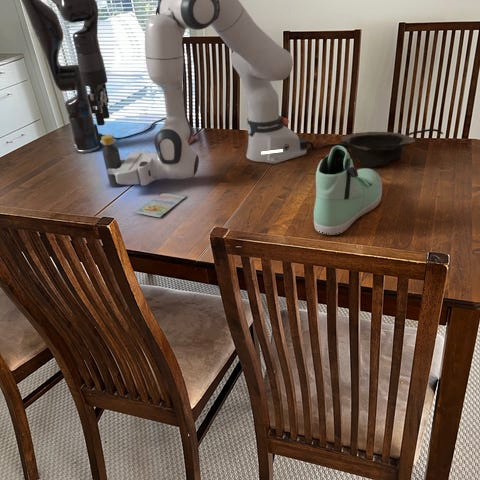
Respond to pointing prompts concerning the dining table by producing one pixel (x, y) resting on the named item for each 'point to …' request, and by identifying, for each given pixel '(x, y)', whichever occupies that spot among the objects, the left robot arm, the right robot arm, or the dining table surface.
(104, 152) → the bottle
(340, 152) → the sneaker
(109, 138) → the cap
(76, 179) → the dining table surface
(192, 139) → the candy cane
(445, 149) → the dining table surface
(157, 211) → the baking ingredient package
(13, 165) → the dining table surface
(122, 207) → the dining table surface
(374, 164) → the stone bowl
